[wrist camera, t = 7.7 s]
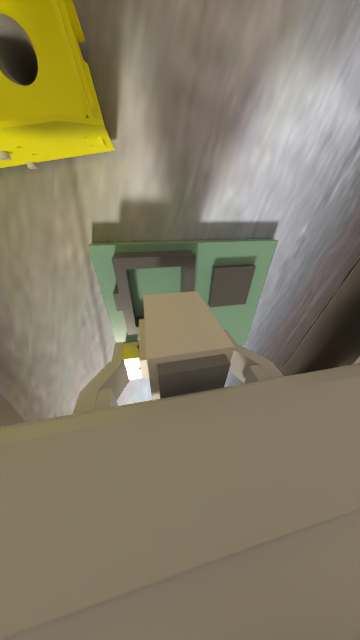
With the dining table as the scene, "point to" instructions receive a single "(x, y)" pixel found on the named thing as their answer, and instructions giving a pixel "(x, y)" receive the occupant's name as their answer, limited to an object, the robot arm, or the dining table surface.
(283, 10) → the dining table surface
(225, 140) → the dining table surface
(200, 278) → the board
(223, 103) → the dining table surface
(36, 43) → the yellow toy chassis
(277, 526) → the robot arm
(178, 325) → the plug
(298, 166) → the dining table surface
